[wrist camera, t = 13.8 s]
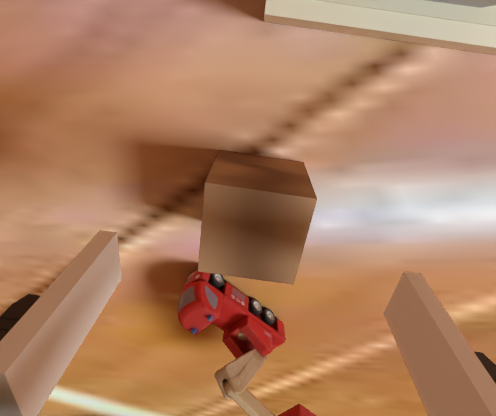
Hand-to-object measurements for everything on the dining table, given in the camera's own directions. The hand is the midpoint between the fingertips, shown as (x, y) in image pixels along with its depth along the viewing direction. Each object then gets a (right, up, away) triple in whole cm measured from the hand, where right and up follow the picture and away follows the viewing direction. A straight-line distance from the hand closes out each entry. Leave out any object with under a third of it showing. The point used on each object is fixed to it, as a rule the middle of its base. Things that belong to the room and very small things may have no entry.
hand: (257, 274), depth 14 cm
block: (0, +4, +9) cm, 10 cm away
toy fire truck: (0, -6, +14) cm, 16 cm away
